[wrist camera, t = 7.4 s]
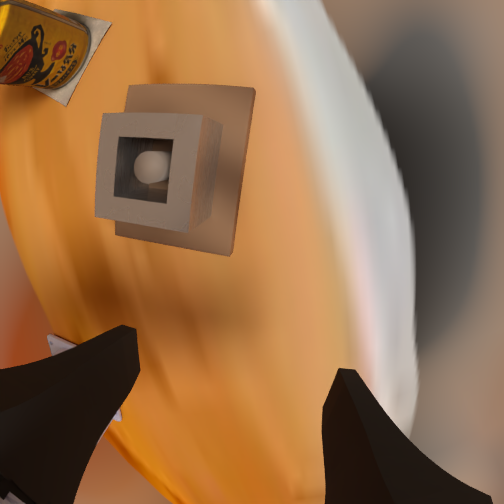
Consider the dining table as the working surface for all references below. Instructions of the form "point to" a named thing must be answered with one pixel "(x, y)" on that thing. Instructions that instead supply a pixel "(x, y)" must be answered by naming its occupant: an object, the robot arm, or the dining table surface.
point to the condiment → (46, 47)
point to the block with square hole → (180, 178)
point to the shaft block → (228, 169)
